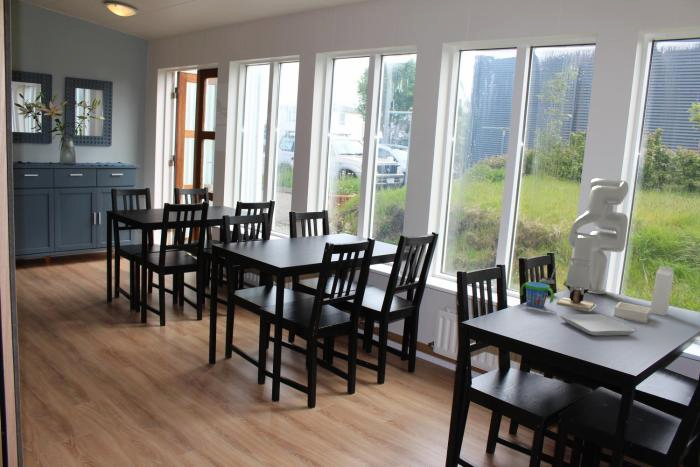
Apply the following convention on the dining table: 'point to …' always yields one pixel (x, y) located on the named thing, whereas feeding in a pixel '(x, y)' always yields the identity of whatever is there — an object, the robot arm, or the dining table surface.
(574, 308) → the mat
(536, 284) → the snack cup
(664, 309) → the milk
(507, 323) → the dining table surface
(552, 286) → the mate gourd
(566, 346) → the dining table surface
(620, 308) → the cream square dish
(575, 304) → the lid
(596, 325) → the salad plate
